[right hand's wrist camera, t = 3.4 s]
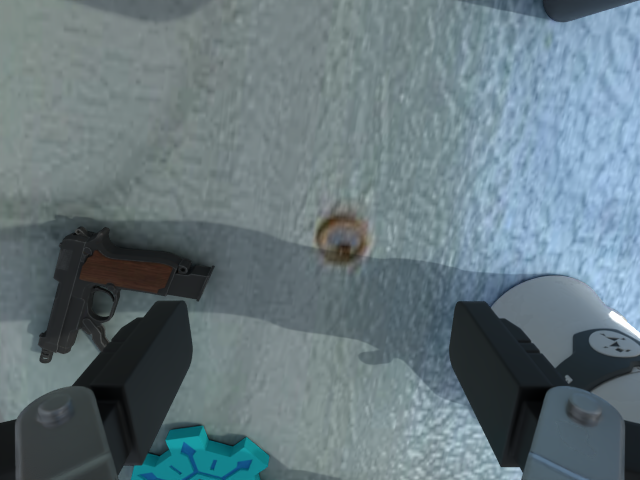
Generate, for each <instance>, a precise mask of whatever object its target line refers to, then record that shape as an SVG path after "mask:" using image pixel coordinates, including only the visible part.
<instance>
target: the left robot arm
mask: <svg viewBox="0 0 640 480" xmlns="http://www.w3.org/2000/svg"><path fill="white" fill-rule="evenodd" d="M491 309H492V310H493V311H494V313H495V314H496V315H497V316H498V317H499V318H505V319H507V320H508V321H510V322H511V323H513V324H514V325H516V326H518V327H519V328H521V329H522V331H523V332H524V333H525V334H526V335H527V336H528V337H529V339H530V340H531V343H534V344H535V346H536V347H537V348H538V349H539V350H540V353H542V354H543V355H544V356H545V357H546V358H547V359H548V361H549V362H550V363H551V364H552V365H553V366H554V368H555V369H556V370H557V371H558V372H559V373H560V375H561V376H562V377H563V378H564V379H565V380H566V381H567V383H568V384H569V385H570V386H571V387H575V388H580V389H583V390H586V391H588V392H591V393H593V394H595V395H597V396H599V397H601V398H602V399H604V400H606V401H607V402H608V403H610V404H611V405H612V406H613V407H614V408H615V409H616V410H617V411H618V412H619V413H620V415H621V416H622V418H623V420H627V421H631V422H635V423H639V424H640V333H639V332H637V331H636V330H635V329H634V328H633V327H631V326H630V325H629V324H628V323H627V320H626V319H625V318H624V317H623V316H622V315H621V314H620V313H619V312H617V311H616V310H614V309H612V308H610V307H608V306H606V305H605V304H604V302H603V301H602V300H601V299H600V298H599V296H598V295H597V294H596V293H595V291H594V290H593V289H592V288H591V287H589V286H588V285H587V284H585V283H583V282H582V281H579V280H577V279H574V278H571V277H566V276H543V277H538V278H534V279H531V280H528V281H525V282H523V283H521V284H518V285H517V286H515V287H513V288H511V289H510V290H508V291H507V292H506V293H504V294H503V295H502V296H501V297H500V298H499V299H498V300H497V301H496V302H495V303H494V304H493V305H492V307H491Z"/></svg>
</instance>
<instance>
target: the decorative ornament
mask: <svg viewBox="0 0 640 480" xmlns="http://www.w3.org/2000/svg"><path fill="white" fill-rule="evenodd" d="M165 441H166V443H167V445H168V448H169V450H168V451H166V452H165V453H164V454H162V455H161V456H157V455H153V454H149V453H148V454H147V456H146V458H145V460H144V462H143V464H142V466H134V469H133V473H132V477H131V480H198V479H202V480H260V477H259V472H261V471H262V470H264V469H265V468H267V467H268V463H269V455H268V454H267V453H265V452H264V451H263V450H262V449H260V448H259V447H258V446H257V445H256V444H254V443H253V442H252V441H251V440H250V439H248V438H247V437H246V438H244V439H243V440H241V441H240V442H239V443H237V444H236V445H234V446H229V445H225V444H222V443H218V442H214V441H211V440H209V439H208V437H207V434H206V432H205V429H204V427H203V426H196V427H188V428H181V429H174V430H170V431H169V433H168V435H167V438H166V440H165Z"/></svg>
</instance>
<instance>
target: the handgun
mask: <svg viewBox="0 0 640 480" xmlns="http://www.w3.org/2000/svg"><path fill="white" fill-rule="evenodd" d="M59 247H60V248H61V249H60V253H59V257H58V262H57V266H56V270H55V274H54V279H56V280H57V281H58V282H59V284H58V288H57V292H56V296H55V300H54V304H53V308H52V312H51V316H50V320H49V324H48V328H47V330H46V331H45V332H44V333H41V334H40V335H39V337H40V339H39V343H38V345H39V346H40V347H41V348H42V352H41V356H40V362H41V363H49V362H50V361H51V359H52V356H53V352H55V353H57V352H59V353H62V354H65V353H68V352H70V350H71V347H72V346H73V345H74V343H75V340H76V337H77V333H78V330H79V329H81V328H82V330H84V331H85V332H86V333H87V334H89V335H90V334H92V340H93V341H94V343H95V344H96V345H97V347H98V348H99V349H100V351H101V352H103V349H104V348H105V347H106V345H107V344H108V343H109V341H108V339H107V338H106V335H105V327H104V326H103V325H102V323H104V322H107V321H109V320H110V319H111V318H112V317H113V315H114V312H115V309H116V307H117V304H118V301H119V298H120V290H121V289H123V290H131V291H138V292H145V293H151V294H157V295H162V296H166V295H167V294H168V295H174V296H180V297H186V298H192V299H197V301H199V300H200V298H201V295H202V293H203V291H204V289H205V287H206V284H207V282H208V280H209V278H210V275H211V273H212V271H213V269H214V267H215V266H212V267H206V266H200V265H195V266H191V265H192V263H191V261H190V260H189V259H186V258H183V259H182V258H180V257H179V256H177V255H174V254H172V253H169V252H164V251H150V250H139V249H126V248H119V247H117V246H115V245H114V244H113V243H112V242H111V241H110V239H109V228H107V227H105V228H103V229H102V230H101V231H100V232H98V233H93V232H89V231H87V230H86V229H85V228H84V227H79V228H78V229H76V231H75V233H72V234H70V235H68V236H66V237H65V238H64V239H63V241H62V243H60V244H59ZM96 285H101V286H104V287H106V288H108V290H109V291H108V290H106V289H104V288H101V287H99V286H97V287H96ZM95 291H103V292H105V293H107V294H109V295H110V296H111V298H112V301H113V302H114V304H113V307H112V310H111V313H110V316H108V317H101V316H99V315H97V314H95V313H94V312H93V310H92V302H93V295H94V292H95ZM110 291H112V292H113V294H114V295H115V299H114V296H113V294H112V293H111V292H110ZM42 357H44V358H48V359H43V358H42Z"/></svg>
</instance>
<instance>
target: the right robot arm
mask: <svg viewBox="0 0 640 480" xmlns="http://www.w3.org/2000/svg"><path fill="white" fill-rule="evenodd" d="M192 353H193V346H192V338H191V331H190V324H189V317H188V310H187V305H186V303H185V302H184V301H157V302H155V304H154V305H153V306H152V307H151V309H150V310H149V311H148V312H147V314H146V315H145V316H144V317H143V318H136V319H135V320H133V321H131V322H130V323H128V324H127V325H125V326H124V327H122V328H121V329H120V330H119V331H118V333H117V334H116V335H115V336H114V337H113V338H112V340H111V342H109V343H108V344H107V345H106V347H105V348H104V349H103V352H101V353H100V354H99V355H98V356H97V357H96V358H95V360H94V361H93V362H92V363H91V364H90V365H89V367H88V368H87V369H86V370H85V371H84V372H83V374H82V375H81V376H80V377H79V378H78V379H77V381H76V382H75V383H74V384H73V385H72V386H70V387H65V388H60V389H57V390H54V391H52V392H49V393H47V394H45V395H43V396H41V397H39V398H38V399H36V400H34V401H33V402H32V403H30V404H29V405H28V406H27V407H26V408H25V409H24V410H23V411H22V412H21V413H20V415H19V416H18V418H17V419H16V420H11V421H7V422H2V423H0V480H119V479H118V475H119V473H120V471H121V469H122V467H123V466H142V464H143V462H144V460H145V458H146V456H147V454H148V452H149V450H150V448H151V446H152V444H153V442H154V439H155V437H156V435H157V433H158V431H159V429H160V427H161V425H162V423H163V421H164V419H165V417H166V415H167V413H168V410H169V408H170V406H171V404H172V402H173V400H174V398H175V396H176V394H177V392H178V390H179V388H180V386H181V383H182V381H183V379H184V377H185V375H186V373H187V371H188V369H189V367H190V364H191V360H192ZM449 354H450V361H451V365H452V368H453V370H454V372H455V374H456V376H457V378H458V380H459V382H460V384H461V386H462V388H463V390H464V392H465V394H466V396H467V398H468V400H469V403H470V405H471V407H472V409H473V411H474V413H475V415H476V417H477V419H478V421H479V423H480V425H481V427H482V429H483V431H484V433H485V435H486V437H487V439H488V441H489V444H490V446H491V448H492V450H493V452H494V454H495V456H496V458H497V460H498V462H499V464H500V466H501V467H520V468H521V470H522V472H523V476H522V479H521V480H640V424H639V423H635V422H631V421H627V420H623V418H622V416H621V415H620V413H619V412H618V411H617V410H616V409H615V408H614V407H613V406H612V405H611V404H610V403H608V402H607V401H606V400H604V399H602V398H601V397H599V396H597V395H595V394H593V393H591V392H588V391H586V390H583V389H580V388H575V387H571V386H570V385H569V384H568V383H567V381H566V380H565V379H564V378H563V377H562V376H561V375H560V373H559V372H558V371H557V370H556V369H555V368H554V366H553V365H552V364H551V363H550V362H549V361H548V359H547V358H546V357H545V356H544V355H543V354H542V353H540V350H539V349H538V348H537V347H536V346H535V344H534V343H531V340H530V339H529V337H528V336H527V335H526V334H525V333H524V332H523V331H522V329H521V328H519V327H518V326H516V325H514V324H513V323H511V322H510V321H508V320H507V319H505V318H499V317H498V316H497V315H496V314H495V313H494V311H493V310H492V309H491V308H490V306H489V305H488V304H487V303H486V302H484V301H459V302H457V304H456V306H455V311H454V318H453V325H452V332H451V338H450V346H449Z"/></svg>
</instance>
